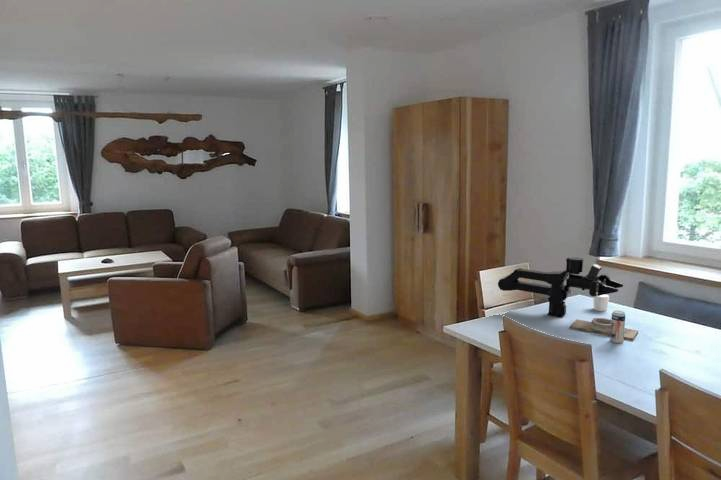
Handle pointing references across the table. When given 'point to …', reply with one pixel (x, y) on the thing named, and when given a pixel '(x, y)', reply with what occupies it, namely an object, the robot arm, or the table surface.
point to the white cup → (601, 302)
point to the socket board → (601, 327)
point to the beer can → (617, 326)
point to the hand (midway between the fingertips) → (620, 288)
